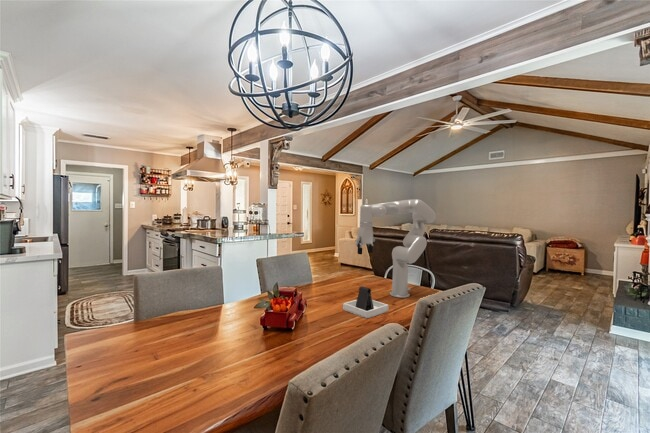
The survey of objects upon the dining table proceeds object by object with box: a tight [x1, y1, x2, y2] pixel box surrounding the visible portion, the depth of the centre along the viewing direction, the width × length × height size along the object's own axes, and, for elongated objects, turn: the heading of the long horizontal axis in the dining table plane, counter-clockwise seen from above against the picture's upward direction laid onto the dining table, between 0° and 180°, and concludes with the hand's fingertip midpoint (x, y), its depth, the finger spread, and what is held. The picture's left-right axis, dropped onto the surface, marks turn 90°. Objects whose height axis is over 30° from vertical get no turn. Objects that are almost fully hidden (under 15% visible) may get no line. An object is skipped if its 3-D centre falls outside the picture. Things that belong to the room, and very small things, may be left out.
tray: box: [342, 299, 390, 320], centre depth 164 cm, size 18×17×4 cm
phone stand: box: [355, 285, 374, 311], centre depth 163 cm, size 9×6×12 cm, turn 131°
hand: (365, 253), depth 183 cm, fingers open, 9 cm apart
